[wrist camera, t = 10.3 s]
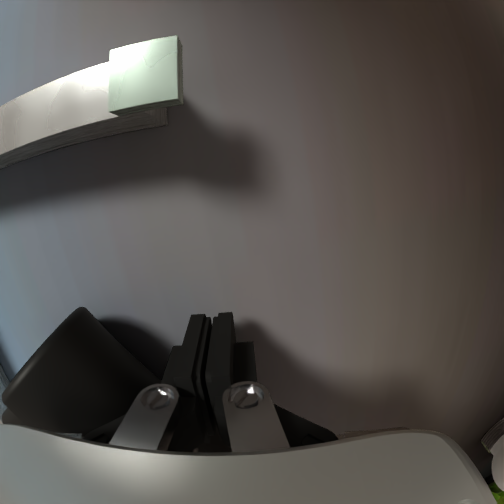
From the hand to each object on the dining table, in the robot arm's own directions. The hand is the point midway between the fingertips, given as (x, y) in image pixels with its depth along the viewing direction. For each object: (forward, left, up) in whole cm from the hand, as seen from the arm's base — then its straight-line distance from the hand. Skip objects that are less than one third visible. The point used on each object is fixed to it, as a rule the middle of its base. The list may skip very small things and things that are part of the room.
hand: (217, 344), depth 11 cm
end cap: (+3, -5, -1) cm, 6 cm away
